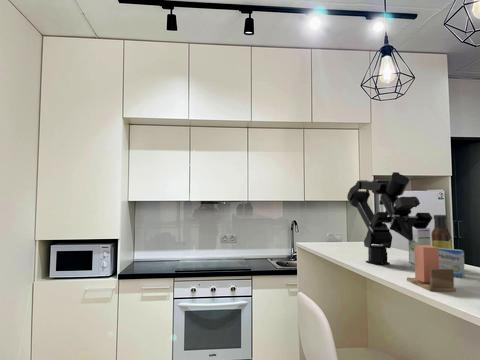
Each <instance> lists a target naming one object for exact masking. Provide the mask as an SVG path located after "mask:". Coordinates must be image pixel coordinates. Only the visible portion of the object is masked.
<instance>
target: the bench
mask: <svg viewBox="0 0 480 360" xmlns="http://www.w3.org/2000/svg"><path fill="white" fill-rule="evenodd" d="M429 272H430V283H424V282H422V281H419V280H417V279H415V277H406V281H407V282H409V283H412V284H414V285H416V286H418V287H420V288H422V289H425V290H427V291H429V292H455V293H456V291H457V288H455V280H454V279H455V278H454V273H453V270H452V269H429Z"/></svg>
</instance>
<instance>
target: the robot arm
mask: <svg viewBox="0 0 480 360" xmlns="http://www.w3.org/2000/svg"><path fill="white" fill-rule="evenodd" d="M409 182H410V179H409V178H408V177H407V176H405V175H403V174H400V172H396V171H394V172H392V173H391V177H390V179H372V181H370V180H366V179H365V180H364V179H363V180H361V179H359V180H357V181H356V182H355V184H354V185H353V186H351V187H350V189H348V190H349V191H348V193H347V196H346V197H347V201H348V203H349V204H350V206H352V207H355V208H356V209H357V211H358V212H359V215H360V216H361V219H362V220H363V223H364V224H365V227H366V228H367V232H366V235H365V236H366V237H364V240H363V244H364V245H363V247H365V248H367V251H368V256H367V257H368V258H367V259H368V260H365V263H369V264H372V265H377V266H378V265H379V266H380V265H381V266H382V265H383V266H384V265H390V262H388V251H387V249H392V248H391V247H392V242H393V235H392V233H391V232H390V230H391V231H393V232H394V233H397V234H398V235H400V236H401V237H403V238H404V239H406V240H407V241H408V242H409V241H412V240H413V229H412V227H414V228H416V229H425V228H428V226H429V224H430V223H431V222H432V220H433V216H432V215H431V214H430V212H416V214H415V215H411V214H412V209H413V208H417V207H418V206H419V205H420V199H418V197H417V196H403V194H404V193H405V190H406V189H407V186H408V185H409ZM370 191H371V193H373V194H374V195H380V199H379V205H382V206H383V207H384V209H385V211H376V212H373V210H372V209H371V207H370V205H369V203H368V202H369V201H368V200H369V198H370V196H371V193H370ZM387 224H390V227H388V225H387Z"/></svg>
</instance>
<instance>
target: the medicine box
mask: <svg viewBox="0 0 480 360" xmlns="http://www.w3.org/2000/svg"><path fill="white" fill-rule="evenodd" d="M438 253H439V269H452V270H453V273H454V277H455V278H464V277H465V275H466V274H465V272H466V271H465V250H463V249H455V248H452V249H446V248H438Z"/></svg>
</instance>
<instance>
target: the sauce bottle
mask: <svg viewBox="0 0 480 360" xmlns="http://www.w3.org/2000/svg"><path fill="white" fill-rule="evenodd" d="M432 217H433V220H434V224H433V225H434V227H433V230H432V231H431V233H430V236H431V239H430V240H431V246H434V247H438V248H446V249H453V245H452V244H453V243H452V236H451V233H450V232H449V229H448V227H447V218H448V217H447V215H446V214H433V216H432Z"/></svg>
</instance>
